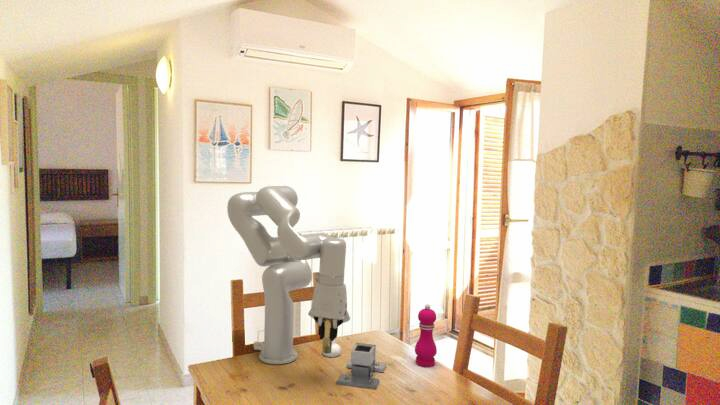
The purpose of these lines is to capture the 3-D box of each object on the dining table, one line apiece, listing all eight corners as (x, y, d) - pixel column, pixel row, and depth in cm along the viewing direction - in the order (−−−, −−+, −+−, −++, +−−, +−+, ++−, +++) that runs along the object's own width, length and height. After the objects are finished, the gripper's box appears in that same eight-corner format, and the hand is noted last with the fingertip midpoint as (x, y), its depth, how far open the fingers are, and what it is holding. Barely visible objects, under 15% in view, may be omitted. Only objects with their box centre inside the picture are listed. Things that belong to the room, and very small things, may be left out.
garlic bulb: (330, 361, 164) (333, 338, 163) (318, 354, 168) (320, 331, 167) (344, 356, 168) (346, 334, 167) (331, 349, 173) (333, 327, 171)
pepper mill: (435, 368, 159) (438, 308, 157) (413, 366, 160) (415, 306, 159) (436, 360, 166) (439, 302, 164) (415, 357, 167) (417, 300, 166)
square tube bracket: (341, 375, 151) (341, 350, 150) (350, 361, 162) (351, 337, 161) (379, 381, 148) (380, 354, 147) (386, 365, 159) (387, 341, 159)
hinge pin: (318, 352, 147) (321, 311, 146) (322, 348, 151) (325, 307, 150) (331, 354, 147) (333, 313, 145) (334, 350, 150) (337, 309, 149)
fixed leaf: (336, 383, 146) (336, 370, 145) (346, 368, 157) (346, 356, 156) (376, 389, 143) (376, 376, 143) (383, 373, 154) (383, 361, 154)
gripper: (301, 279, 144) (297, 339, 146) (354, 286, 141) (350, 347, 143) (309, 273, 152) (306, 330, 154) (360, 279, 148) (356, 338, 150)
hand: (327, 338), depth 148 cm, fingers closed on hinge pin, 2 cm apart
